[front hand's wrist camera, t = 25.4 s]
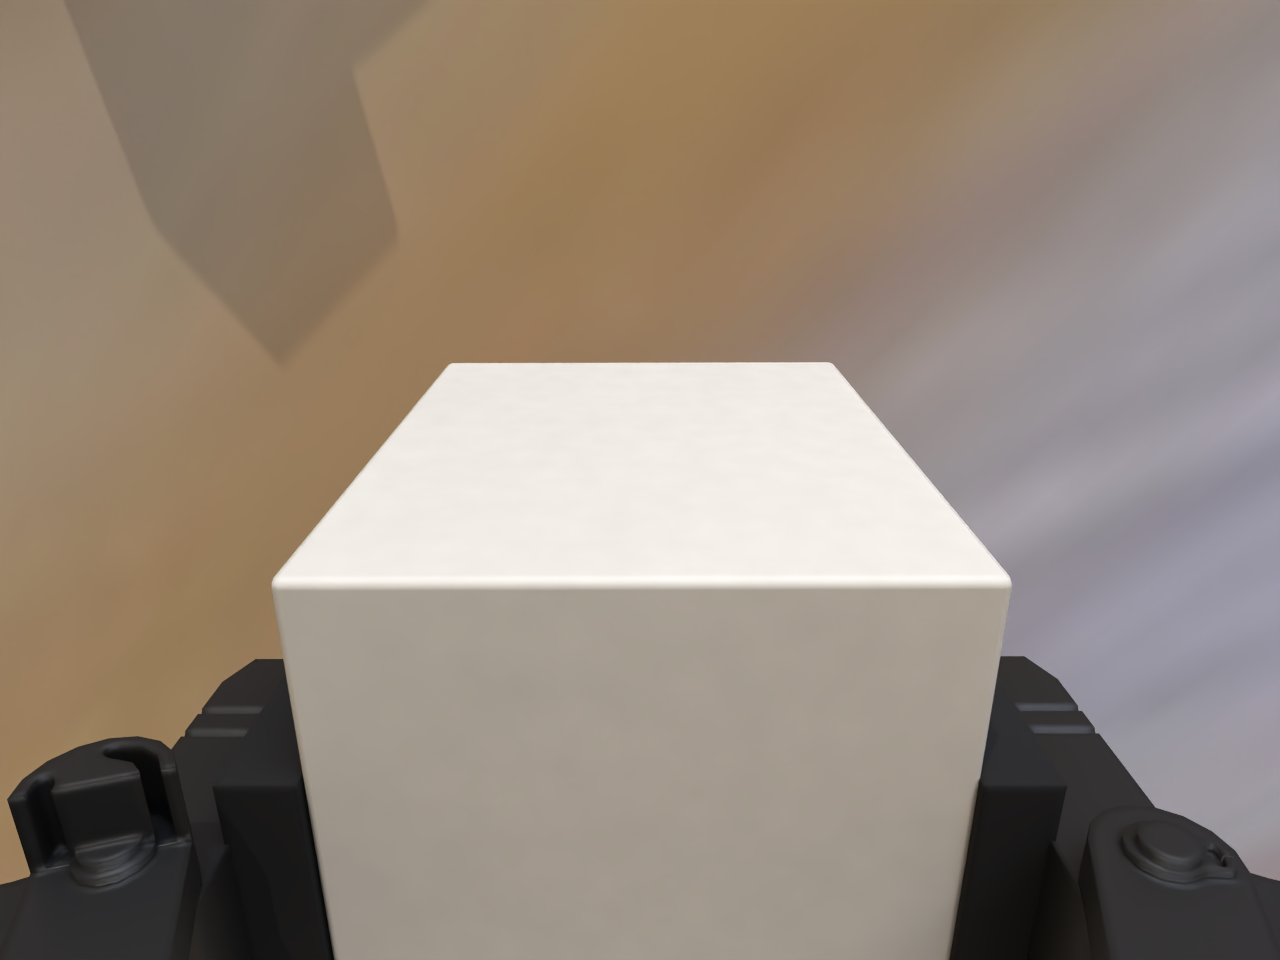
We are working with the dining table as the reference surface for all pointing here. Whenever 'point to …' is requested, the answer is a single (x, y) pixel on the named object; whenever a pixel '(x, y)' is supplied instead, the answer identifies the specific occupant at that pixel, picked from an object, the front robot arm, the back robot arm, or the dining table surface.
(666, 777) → the block
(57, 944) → the front robot arm
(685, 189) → the dining table surface
